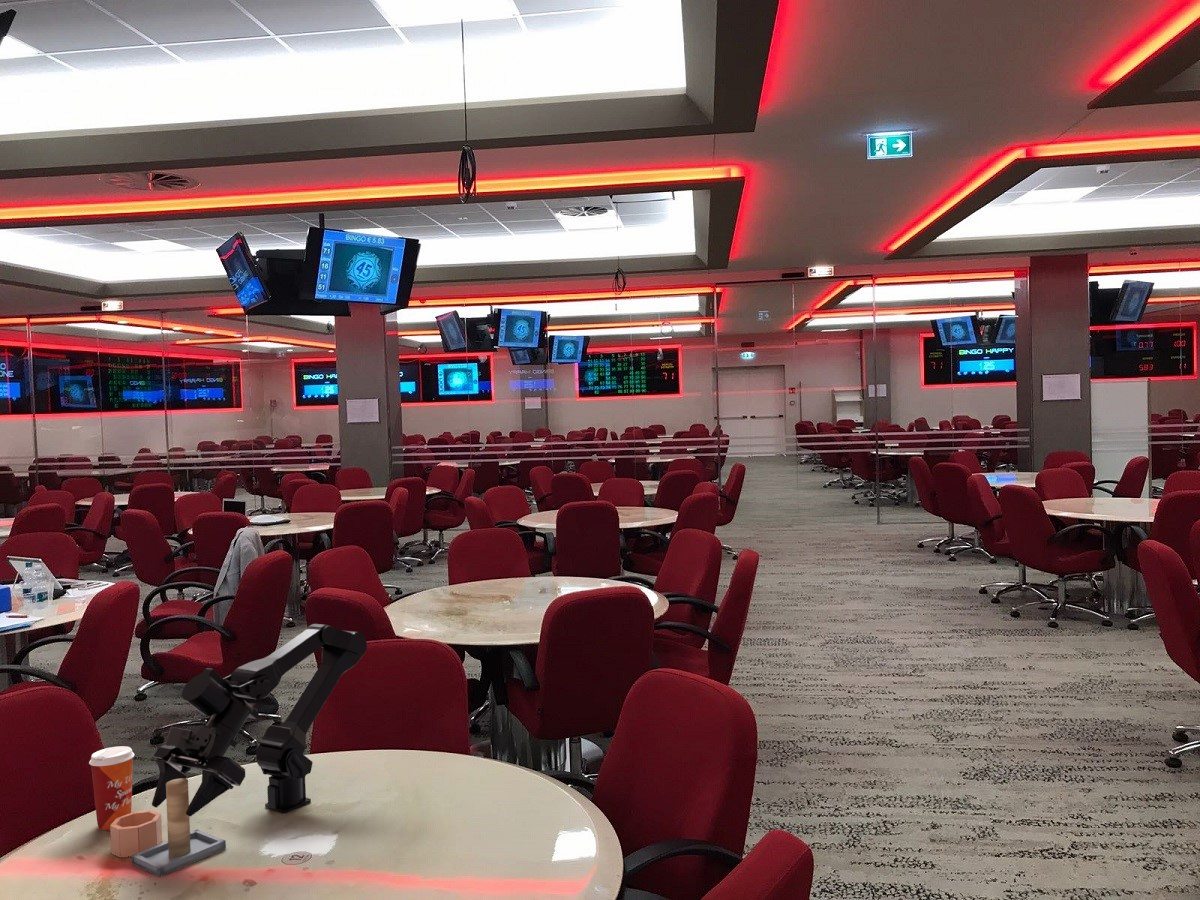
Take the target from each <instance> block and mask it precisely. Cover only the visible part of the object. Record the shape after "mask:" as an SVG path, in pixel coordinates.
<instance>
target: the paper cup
mask: <svg viewBox="0 0 1200 900" xmlns="http://www.w3.org/2000/svg"><path fill="white" fill-rule="evenodd" d="M134 757H135V753H134V752H133V749H132V748H131V747H130V746H127V745H126V746H125V745H121V746H111V747H106V748H104V749H100V750H97V751H96V752H93V753H92V754H91V756H90V760H89V762H88V764H89V765H90V768H91V779H92V785H93V786H92V787H93V797H94V806H95V814H96V815H95V816H96V824H97V829H98V828H99V829H101V830H100V831H103V830H108V831H110V825H111V824H112V823H113V822H114V821H115V819H116V818H119V817H121V816H124V815H127V814H130V813H132V806H133V805H132V804H133V803H132V801H133V763H134V761H133V759H134ZM99 829H98V830H99Z"/></svg>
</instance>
